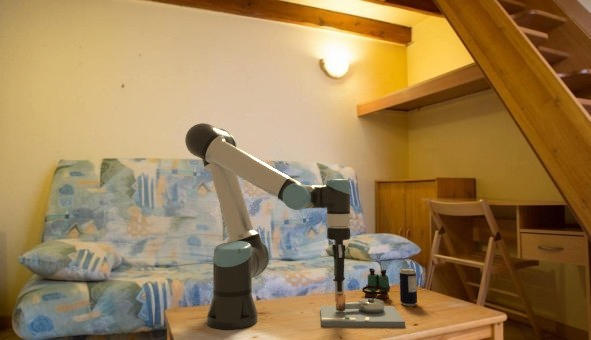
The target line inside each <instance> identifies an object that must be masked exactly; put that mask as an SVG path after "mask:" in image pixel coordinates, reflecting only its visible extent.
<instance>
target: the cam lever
mask: <svg viewBox="0 0 591 340" xmlns="http://www.w3.org/2000/svg"><path fill="white" fill-rule="evenodd" d="M335 306H336V310H337V311H345V309H359V310H360V311H362V312H366V313H380V312H383V311H384V306H385V302H384V301H382V300H379V299H377V298H374V299H372V298H367V299H365V298H361V299H359V300H358V301H350V302H348V301H347V302H346V294H345V293H344V294H336V302H335Z"/></svg>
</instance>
